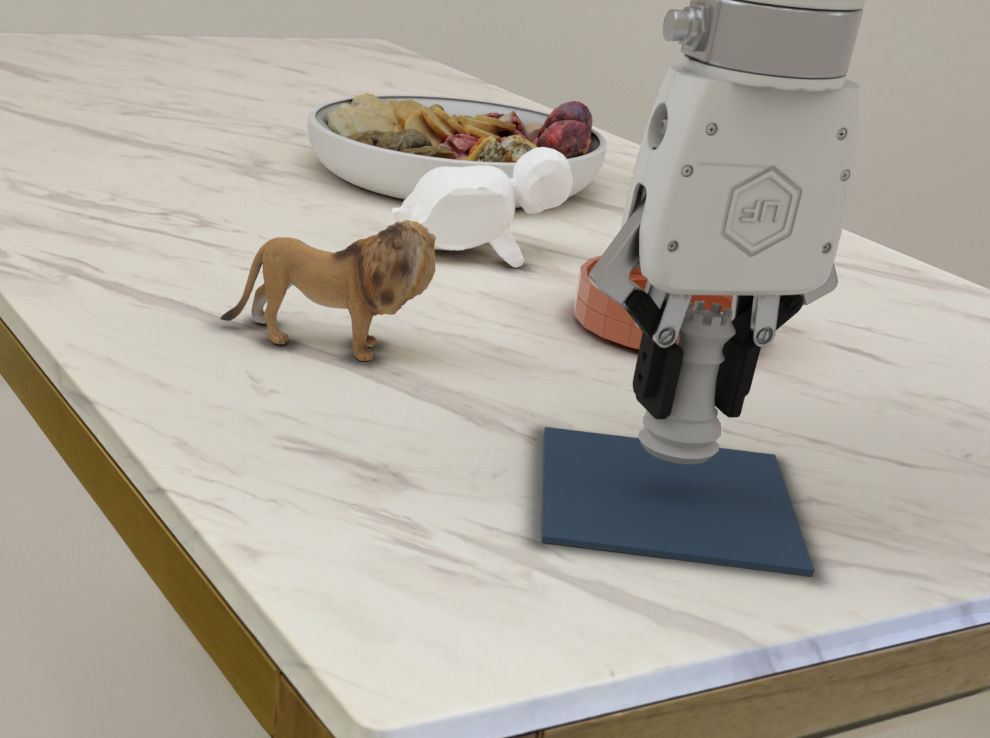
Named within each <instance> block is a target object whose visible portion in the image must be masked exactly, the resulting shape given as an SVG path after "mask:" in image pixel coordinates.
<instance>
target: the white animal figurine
mask: <svg viewBox="0 0 990 738" xmlns="http://www.w3.org/2000/svg"><path fill="white" fill-rule="evenodd" d="M572 184H573V178H572V173H571V169H570V165H569V162H568V160H567V159H566V157H565V156H564V155H563V154H562V153H560V152H558V151H556V150H555V149H551V148H546V147H539V148H534V149H532V150H530V151H529V152H527V153H525V154H524V155H523V156H521V157H520V158H519V159H518V161H517V162H516V163H515V165H514V168H513V178H510V179H509V177H508V176H507V175H506V174H505V173H504V172H503V171H502V170H501V169H499V168H496V167H493V166H488V165H476V166H467V167H438V168H435V169H433V170H431V171H429V172H428V173H427V174H425V175H424V176H423V177H422V178H421V179H420V181H419V182H418V183H417V185H416V187H415V189H414V190H413V192H412V193H411V194H410V195H409V196H408V197H407V198H406V199H403V202H402V203H401V206H400V207H393V208H392V209H391V211H392V215H393V218H394V221H395V223H396V222H403V221H405V220H410V221H415V222H419V223H420V224H422V225H423V227H426V228H428V231H429V233H431V234H434V235H435V236H436V240H435V246H434V249H435V251H447V252H448V251H449V252H453V251H456V252H457V251H464V250H469V249H473V248H477V247H480V246H482V245H485V244H489V245H490V247H492V249H493V250H494V251H495V253H496V254H497V255H498V256H499V257H500V258H501V259H503V261H505V262H506V263H507V264H508V265H510V266H511V267H512V268H515V269H516V268H519V267H522V266H523V264H524V262H525V258H524V255H523V253H522V249H521V248H520V246H519V244H518V243H517V240H516V239H515V238H514V236H513V234H512V233H511V231H510V228H511V226H512V225H513V222H514V219H515V215H516V214H515V213H516V208H515V202H516V201H517V200H518V202H519V203H520V205H521V206H522V207H521V208H522V209H523V210H524V213H526V214H528V215H534V214H540V213H542V212H543V211H545V210H550V209H553V208H557V207H559V206H561V205H562V204H564V202H566V201H567V200H568V199H569V197H568V196H569V194H570V192H571V189H572Z"/></svg>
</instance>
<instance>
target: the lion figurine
mask: <svg viewBox="0 0 990 738" xmlns="http://www.w3.org/2000/svg"><path fill="white" fill-rule="evenodd" d="M435 240H436V236H435V235H434V234H431V233H429V231H428V228H426V227H423V225H422V224H420V223H419V222H415V221H410V220H405V221H403V222H396V221H395V222H394V223H393V224H390V225H387V227H386V228H385V229H382V230H381V231H379V232H378V233H377V234H373V235H369V236H368V237H366V238H360V239H357V240H355V241H353V242H352V243H351V244H349V245H348V246H347V247H345V248H344V249H341V250H338V251H335V252H334V251H333V252H332V251H327V250H323V249H320V248H317V247H313V246H311V245H310V244H308V243H306V242H304V241H302V240H300V239H297V238H295V237H284V236H277V237H274V238H271V239H269V240H267V241H266V242H264V243H263V244H262V246H260V248H259V249H258V251H257V252H256V254H255V256H254V258H253V260H252V263H251V266H250V269H249V273H248V276H247V279H246V283H245V286H244V289H243V292H242V295H241V298H240V300H239V301H238V302H237V304H236V305H235V306H234V307H233V308H231V309H229V310H227V311H226V312H225V313H223V314H222V315H221V316H220V318H219V319H220V320H221V321H226V322H230V321H231V322H232V321H233V320H235V319H236V318H237V317H238V316H240V314H241V313H242V312H243V310H244V308H245V307H246V305H247V303H248V301H249V299H250V297H251V294H252V292H253V290H254V287H255V284H256V282H257V278H258V276H259V274H260V271H261V269H262V278H263V284H261V285H260V286H259V287H258V288H256V290H255V291H254V295H253V301H252V304H251V310H250V311H251V312H250V313H251V318H252V320H253V321H254V322H256V323H259V324H263V325H264V324H265V325H266V327H267V330H268V337H269V339H270V341H271V342H272V343H274V344H276V345H285V344H286V343H288V342H289V339H290V338H289V334H287V333H286V332H283V331H281V330H280V327H279V324H278V313H279V310H280V308H281V305H282V304H283V301H284V298H285V296H286V294H287V291H288V290H289V289H290V288H291V287H293V286H294V287H295V288H297V289H298V290H299V291H300V292H301V293H302V294H303V296H305V298H307V299H308V300H310V301H311V302H313V303H314V304H317V305H319V306H321V307H325V308H330V309H340V310H348V313H349V316H350V320H351V332H352V333H351V334H352V339H351V340H352V341H351V344H352V352H353V355H354V357H355V358H356V359H357V360H358V361H361V362H369V361H371V360H373V358H374V357H373V356H374V352H373V351H372V350H370V349H369V348H373V347H375V346H377V344H378V340H377V338H376V337H375V336H374V335H369V331H370V327H371V324H372V322H373V318H374V317H376V316H378V315H379V316H383V315H389V316H394V315H396V314H397V312H398V311H400V310H401V309H402V306H404V305H406V303H407V302H408V301H411V300H413V299H414V298H416V297H417V296H420V295H422V294H423V293H424V292H425V291H426V290H428V287H429V285H430V283H431V282H432V280H433V278H434V275H435V273H436V255H435V253H436V250H435V249H434V246H435ZM265 305H266V306H265ZM264 307H266V308H265V309H264Z"/></svg>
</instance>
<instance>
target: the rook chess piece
mask: <svg viewBox="0 0 990 738" xmlns="http://www.w3.org/2000/svg"><path fill="white" fill-rule="evenodd" d="M704 304H705V302H704V301H695V303H694V308H693V309H692V305H693V303H689V306H688V309H687V312H686V315H685V317H684V320H683V323H682V326H681V329H680V332H679V335H678V336H679V340H678V343H677V345H678V346H679V347H681V348H682V349H683V352H684V356H683V361H682V365H681V370H680V374H679V379H678V383H677V388H676V392H675V397H674V401H673V406H672V410H671V414H670V416H669V417H667V418H666V419H655V418H654V417H653V416H652V415H651V414H650V413H649V412H648V411H647V410H646V411H645V413H644V415H643V417H642V425H643V426H644V427H643V428H641V429H640V430H639V431H638V435H637V438H639V440H640V442H641V444H642V446H643V447H644V449H645V450H646V451H647V452H648V453H649V454H651V455H653V456H654V457H656V458H659V459H662V460H665V461H668V462H672V463H678V464H699V463H703V462H706V461H707V460H708V459H710V458H711V457H712V456H713V455H715V454H716V453H717V452H718V451H719V448H720V444H719V443H718V442H717V440H718V439H719V438H721V437H722V423H721V421H720V419H719V418H718V416H719V409H718V408H717V407H716V406H715V389H716V378H717V373H718V369H719V365H720V364H721V363H722V362H723V361H724V360H725V356H724V354H723V353H722V349H723V346H724V344H725V343H726V342H727V341H728V340H729V339H730V338H731V337H732V336H734V335H735V334H736V331H735V328H734V326H733V324H732V322H731V319H732V310H731V309H729V308H724V311H723V314H721V313H720V311H721V307H722V305H721V304H717V303H714V302H713V303H712V307H711V311H710V310H703V309H704Z"/></svg>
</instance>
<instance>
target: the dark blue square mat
mask: <svg viewBox="0 0 990 738" xmlns="http://www.w3.org/2000/svg"><path fill="white" fill-rule="evenodd" d="M542 469H543V471H542V474H543V475H542V511H541V512H542V513H541V514H542V515H541V516H542V517H541V543H545V544H551V545H552V544H553V545H561V546H568V547H576V548H583V549H584V548H585V549H592V550H602V551H609V552H616V553H617V552H618V553H625V554H632V555H633V554H634V555H641V556H649V557H657V558H662V559H663V558H664V559H672V560H680V561H689V562H696V563H697V562H698V563H704V564H712V565H720V566H727V567H736V568H745V569H751V570H759V571H766V572H767V571H769V572H775V573H784V574H791V575H798V576H799V575H800V576H806V577H813V576H814V572H815V569H814V568H815V567H814V565H813V562H812V559H811V556H810V554H809V550H808V547H807V543H806V541H805V538H804V535H803V533H802V530H801V527H800V524H799V520H798V518H797V515H796V512H795V509H794V505H793V504H792V501H791V498H790V495H789V491H788V489H787V486H786V483H785V480H784V476H783V474H782V471H781V468H780V465H779V463H778V459H777V456H776V454H774V453H766V452H757V451H751V450H750V451H748V450H740V449H731V448H724V447H719V451H718V452H717V453H716V454H715V455H713V456H712V457H711V458H710V459H708V460H707V461H706V462H703V463H699V464H678V463H672V462H668V461H665V460H662V459H659V458H656V457H654V456H653V455H651V454H649V453H648V452H647V451H646V450H645V449H644V447H643V446H642V444H641V442H640V440H639V438H638V437H632V436H626V435H625V436H624V435H616V434H607V433H600V432H592V431H591V432H590V431H583V430H575V429H565V428H557V427H549V426H545V427H544V431H543V468H542Z"/></svg>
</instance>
